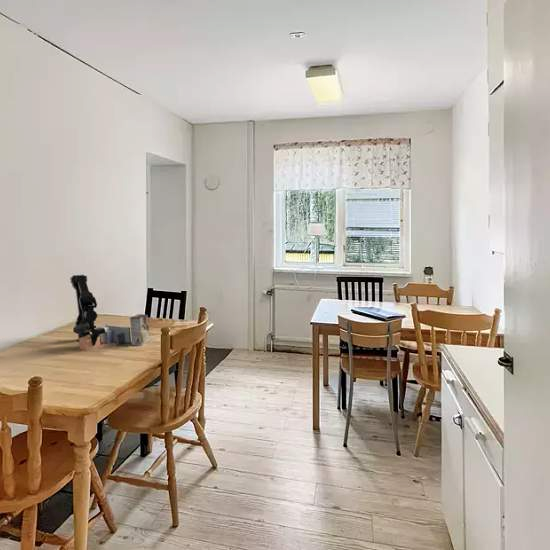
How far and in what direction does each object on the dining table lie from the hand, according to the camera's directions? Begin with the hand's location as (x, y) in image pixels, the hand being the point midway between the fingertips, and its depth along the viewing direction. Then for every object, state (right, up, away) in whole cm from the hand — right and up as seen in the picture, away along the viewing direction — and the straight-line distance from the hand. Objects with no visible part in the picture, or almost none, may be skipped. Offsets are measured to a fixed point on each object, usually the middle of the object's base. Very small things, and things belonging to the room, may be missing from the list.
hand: (90, 345), depth 231 cm
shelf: (+10, 0, +9) cm, 14 cm away
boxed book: (0, -1, 0) cm, 1 cm away
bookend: (+16, 0, +6) cm, 17 cm away
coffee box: (+26, 0, +7) cm, 27 cm away
